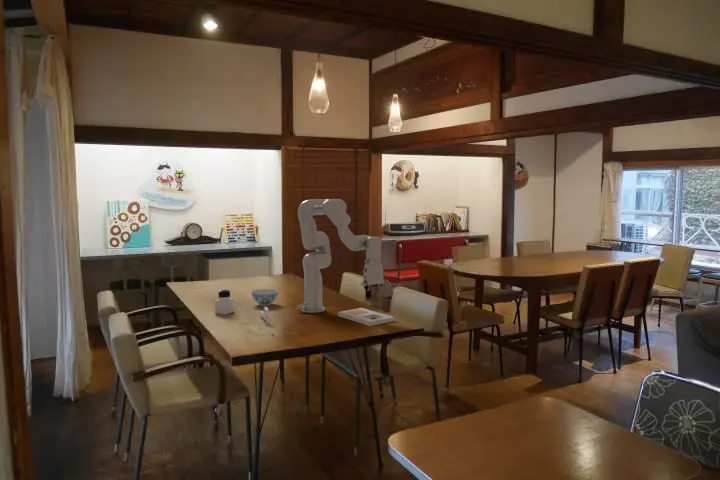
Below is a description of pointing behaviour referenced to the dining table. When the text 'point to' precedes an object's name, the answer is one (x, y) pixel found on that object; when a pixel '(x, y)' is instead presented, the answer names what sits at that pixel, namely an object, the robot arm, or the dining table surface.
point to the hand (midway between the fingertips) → (372, 297)
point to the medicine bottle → (224, 303)
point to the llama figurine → (265, 314)
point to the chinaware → (264, 296)
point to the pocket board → (366, 316)
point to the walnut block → (374, 294)
